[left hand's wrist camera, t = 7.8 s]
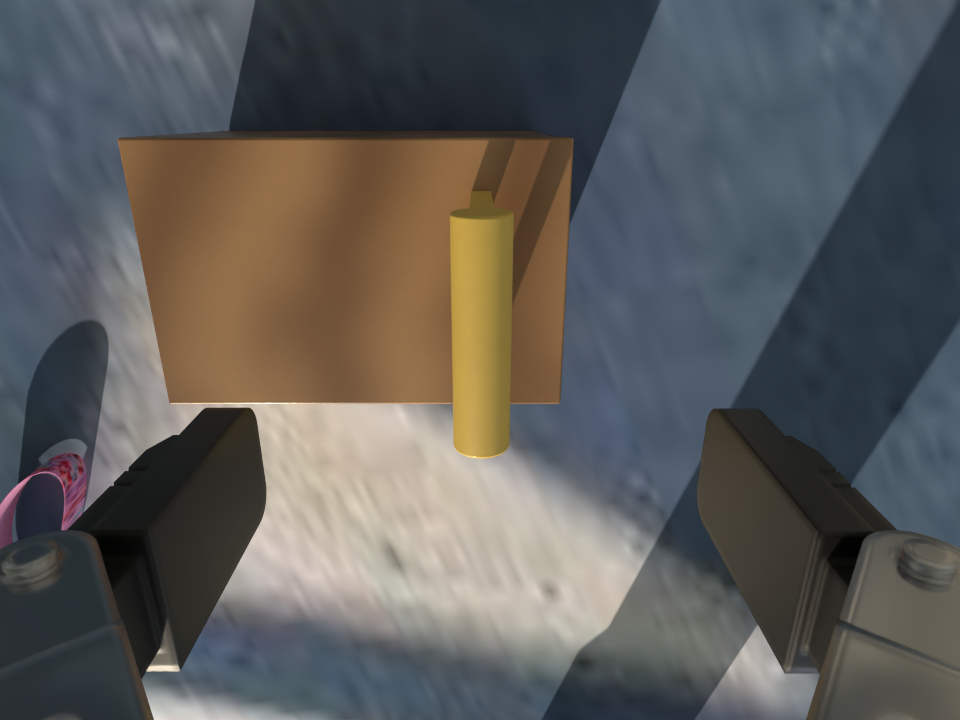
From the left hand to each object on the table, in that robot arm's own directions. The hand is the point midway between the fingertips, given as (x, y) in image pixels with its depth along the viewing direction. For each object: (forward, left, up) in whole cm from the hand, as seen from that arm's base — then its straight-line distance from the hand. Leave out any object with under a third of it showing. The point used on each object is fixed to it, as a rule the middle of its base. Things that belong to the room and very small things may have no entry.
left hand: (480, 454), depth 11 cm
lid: (-3, +3, -13) cm, 14 cm away
